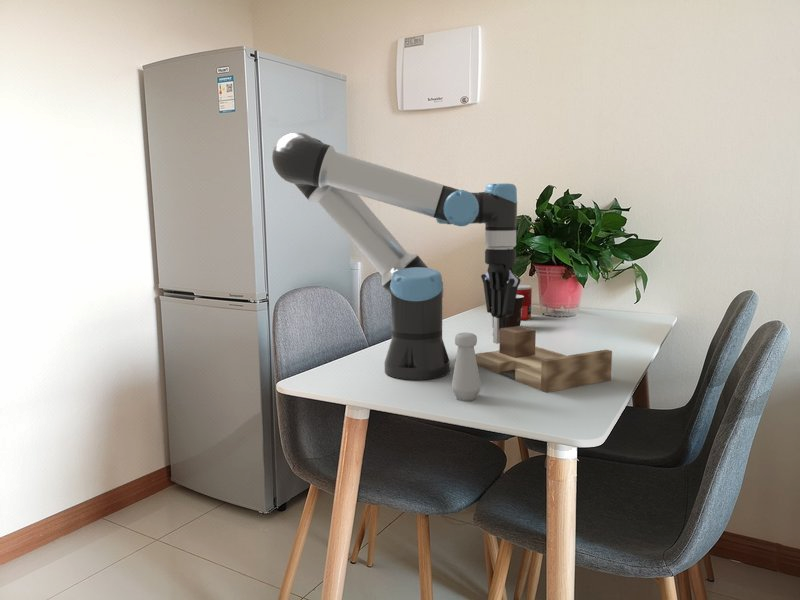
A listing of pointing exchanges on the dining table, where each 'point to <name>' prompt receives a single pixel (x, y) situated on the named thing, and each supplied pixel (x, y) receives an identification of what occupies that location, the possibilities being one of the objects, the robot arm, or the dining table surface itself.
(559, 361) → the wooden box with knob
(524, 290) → the canned food
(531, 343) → the walnut block
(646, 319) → the dining table surface
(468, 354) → the salt shaker
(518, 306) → the coffee mug
